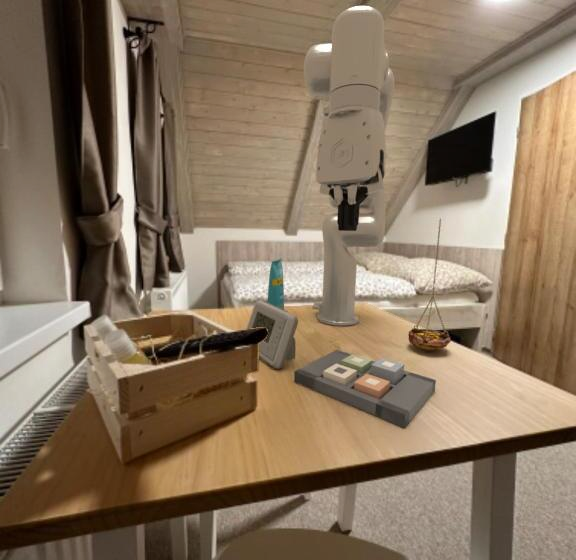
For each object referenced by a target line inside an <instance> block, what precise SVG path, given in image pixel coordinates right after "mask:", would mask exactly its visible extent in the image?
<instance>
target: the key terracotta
mask: <svg viewBox="0 0 576 560" xmlns="http://www.w3.org/2000/svg"><path fill="white" fill-rule="evenodd" d="M354 390H356V391H359V392H361V393H364V394H367V395H369V396H372V397H374V398H377V399H380V400H381V399H382V398H383V397H384V396H385V395H386V394H387V393H388V392H389V390H390V381H387V380H384V379H381V378H378V377H375V376H372V375H369V374H365V375H364V376H362V377H361V378H360V379H358V380H357V381H355V382H354Z"/></svg>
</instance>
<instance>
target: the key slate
mask: <svg viewBox="0 0 576 560" xmlns="http://www.w3.org/2000/svg"><path fill="white" fill-rule="evenodd" d="M404 370H405V364H404V363H402V362H398V361H396V360H395V361H394V360H391V359H388V358H384V357H380V358H379V359H378V360H376V361H375V363H373V364H372V366H371V375H372V376H375V377H378V378H381V379H384V380H387V381H390V384H393V385H396V384H397V383H398V382H399V381H400V380H401V379H402V378H403V375H404Z"/></svg>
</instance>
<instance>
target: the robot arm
mask: <svg viewBox="0 0 576 560" xmlns="http://www.w3.org/2000/svg"><path fill="white" fill-rule="evenodd" d="M384 38H385V20H384V18H383V15H382V14H381V12H380V11H379V10H378V9H376V8H374V7H371V6H368V5H355V6H352V7H349V8H347V9H345V10H344V11H342V12H341V13H339V14H338V16H337V17H336V19H335V20H334V22H333V26H332V31H331V42H328V43H320V44H315V45H312V46H311V47H310V48H309V49H308V50H307V52H306V55H305V57H304V62H303V79H304V80H303V81H304V85H305V89H306V90H307V93H308V95H309V96H310V98H311V99H313V100H317V101H325V102H328V105H327V106H326V107H324V108H323V111H322V112H323V116H322V119H321V120H322V121H321V130H320V133H319V140H318V141H319V142H318V147H317V153H316V154H317V155H316V169H315V181H316V182H317V184H318V185H320V187H319V193H320V194H323V195H327V196H328V202H329V204H330V206H331V207H332V208H333V209H336V210H337V212H336V213H335V212H334V213H331V214H329V215H326V216H325V217H324V219H323V221H322V224H321V225H322V226H321V228H322V229H321V231H322V233H321V234H322V239H323V240H322V241H323V242H322V243H323V276H322V278H323V281H322V299H321V300H322V301H321V302H319V301H314V302H313V305H312V306H311V307H312V310H317V311H318V313H317V314H316V320H317V321H318V322H320V323H322V324H325V325H331V326H340V327H341V326H343V327H345V326H353V325H357V323H359V321H360V317H359V316H358V315H357V314H355V301H356V286H357V285H356V284H357V282H356V281H357V280H356V279H357V260H356V258H355V256H354V255H353V254H352V253H351V251H350V249H349V248H353V247H354V248H377V247H380V246H381V245H382V243H384V239H385V232H386V198H387V196H386V195H387V193H386V189H387V188H386V184H385V181H384V178H385V174H386V157H387V156H386V155H387V153H386V152H387V151H386V150H387V147H386V130H387V125H388V121H389V116H390V111H391V107H392V103H393V98H394V92H395V76H394V73H393V70H392V69H391V68H390V66H389V65H390V62H389V58H390V57H389V54H388V52H387V50H386V46H385V39H384ZM360 210H361V211H366V212H365V213H363V212H361V213H360Z"/></svg>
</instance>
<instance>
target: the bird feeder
mask: <svg viewBox="0 0 576 560" xmlns="http://www.w3.org/2000/svg"><path fill="white" fill-rule="evenodd" d="M441 224H442V219H441V217H440V218H439V223H438V232H437V241H436V244H437V245H436V253H435V262H434V263H435V264H434V272H433V273H434V274H433V281H432V282H433V283H432V285H433V286H432V287H433V288H432V290H431V294H432V295H431V298H430V299H429V302H428V304H427V305H426V307H425V309H424V311H423V313H422V315H421V317H420V319H419V320H418V322H417V324H416V325H414V326H413V328H411V329H410V330H409V332H408V334H407V335H408V336H407V337H408V341H409V344H411V345H412V346H414V347H415V348H418V349H420V350H424V351H440V350H442V349H444V348H446V347H447V346H448V345H449V344H450V343H451V336H450V334H449V332H448V330H446V328H445V325H444V323H443V319H442V318H441V317H442V316H441V314H440V312H437V314H438V317H439V320H440V323H441V326H442V329H443V332H441V331H439V330H438V331H437V330H434V329H430V328H429V326H430V319H431V315H432V314H431V313H432V309H433V308H432V306H433V303H434V307H435V308H436V311H439V309H438V305H437V303H436V299H435V297H434V294H435V293H434V292H435V291H434V290H435V285H436V277H437V276H436V275H437V267H438V266H437V264H438V256H439V244H440V233H441V226H442V225H441ZM428 308H429V311H428V316H427V317H428V319H427V324H426V328H419V324H420V323H421V322H422V321H421V320H422V319H423V317H424V315H425V313H426V312H427V309H428Z"/></svg>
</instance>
